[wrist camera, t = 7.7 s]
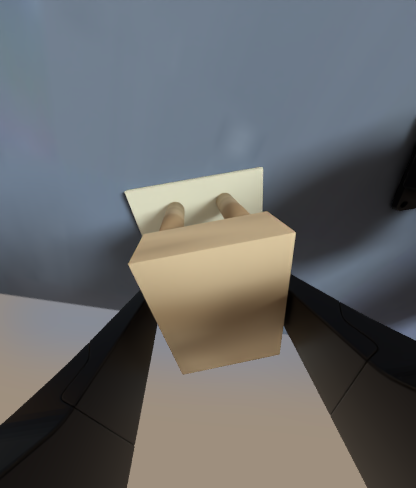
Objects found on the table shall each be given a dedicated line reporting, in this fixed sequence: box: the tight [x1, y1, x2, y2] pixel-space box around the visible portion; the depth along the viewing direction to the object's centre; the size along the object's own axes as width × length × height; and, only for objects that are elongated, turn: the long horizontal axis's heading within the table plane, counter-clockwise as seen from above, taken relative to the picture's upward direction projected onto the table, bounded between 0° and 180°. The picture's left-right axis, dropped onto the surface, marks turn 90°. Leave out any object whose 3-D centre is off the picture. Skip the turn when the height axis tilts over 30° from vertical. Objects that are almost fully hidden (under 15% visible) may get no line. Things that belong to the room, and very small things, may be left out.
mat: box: [125, 167, 263, 236], centre depth 13 cm, size 9×9×1 cm
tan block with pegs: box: [128, 193, 296, 374], centre depth 10 cm, size 7×5×7 cm
